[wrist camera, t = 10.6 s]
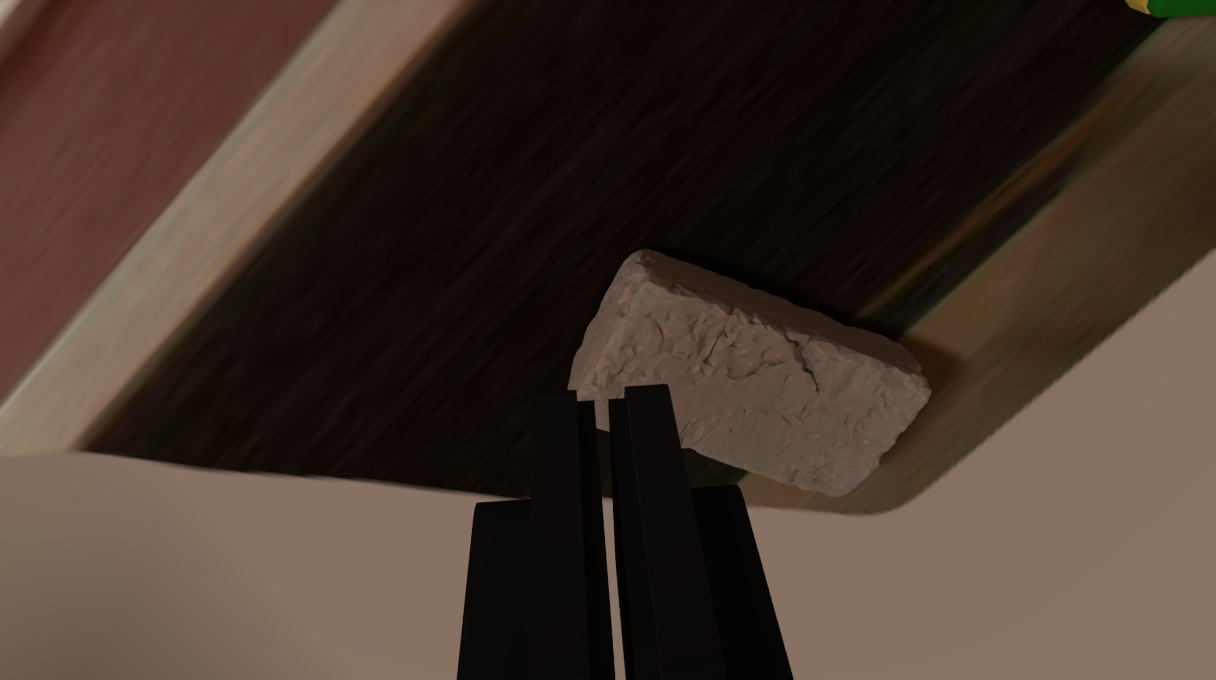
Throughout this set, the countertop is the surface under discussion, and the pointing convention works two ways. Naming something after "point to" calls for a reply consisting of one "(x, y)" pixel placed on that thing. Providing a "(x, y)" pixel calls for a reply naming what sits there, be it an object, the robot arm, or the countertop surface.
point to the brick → (750, 374)
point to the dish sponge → (1174, 7)
